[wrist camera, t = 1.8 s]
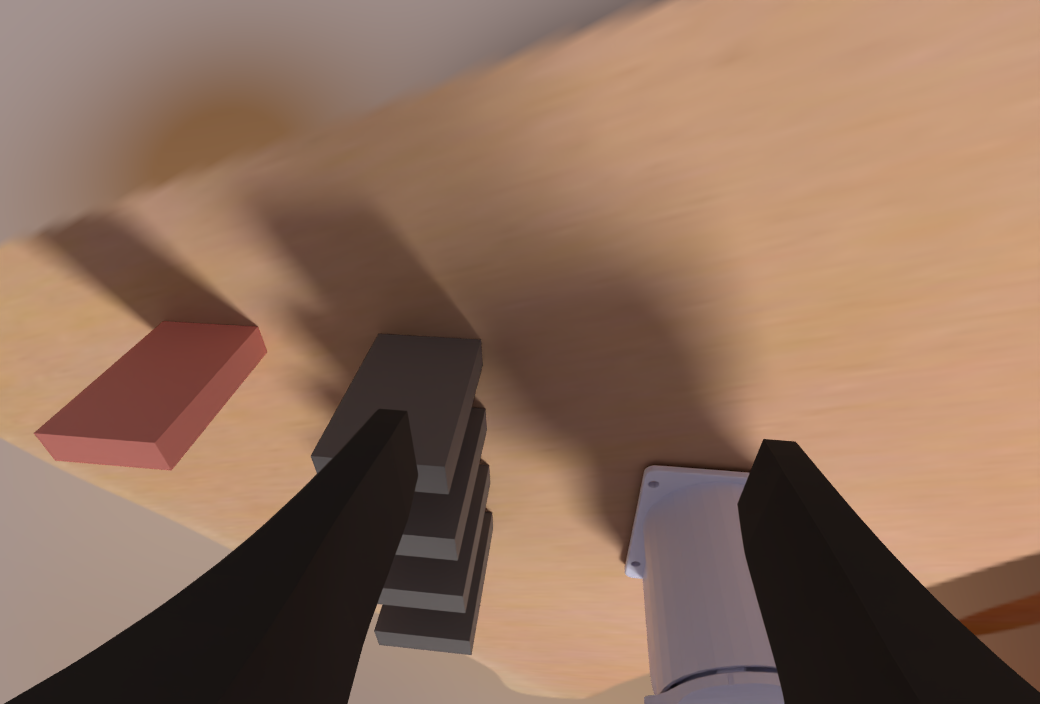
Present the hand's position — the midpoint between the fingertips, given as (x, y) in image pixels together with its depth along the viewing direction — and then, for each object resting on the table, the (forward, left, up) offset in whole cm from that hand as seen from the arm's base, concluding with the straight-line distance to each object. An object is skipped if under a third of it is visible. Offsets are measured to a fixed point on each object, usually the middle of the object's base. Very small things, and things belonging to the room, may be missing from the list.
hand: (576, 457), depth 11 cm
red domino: (-6, +16, -10) cm, 20 cm away
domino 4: (-18, +6, -10) cm, 21 cm away
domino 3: (-14, +6, -10) cm, 18 cm away
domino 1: (-6, +6, -10) cm, 13 cm away
